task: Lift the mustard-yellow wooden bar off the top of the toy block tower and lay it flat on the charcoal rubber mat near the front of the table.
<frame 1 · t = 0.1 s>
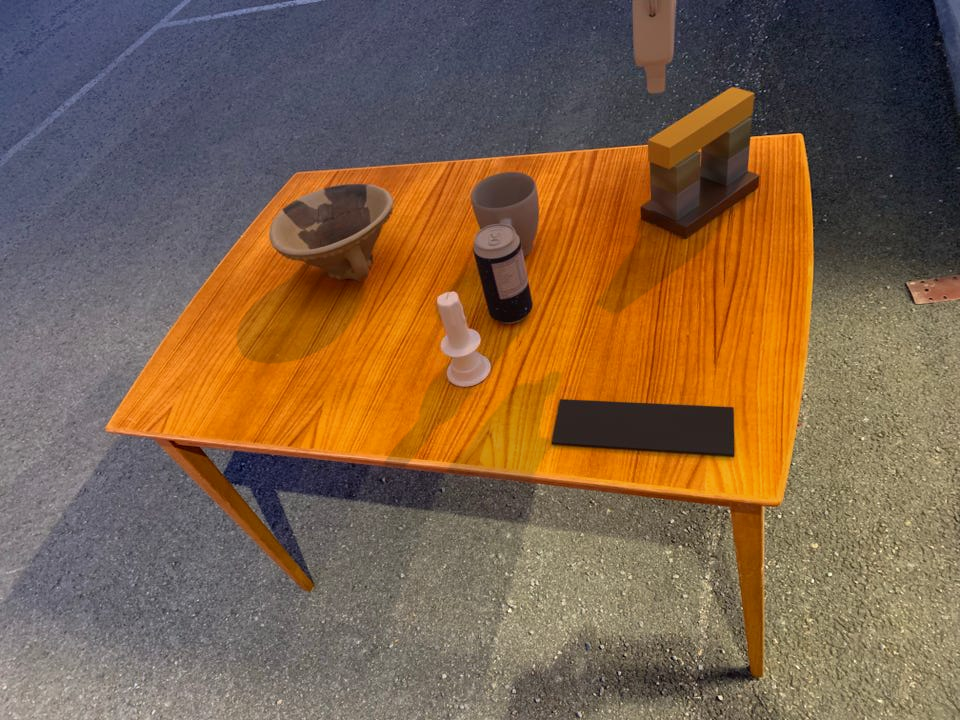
hand: (658, 70, 76), 24 cm above the table, tool pointing down, fingers open, 8 cm apart
mat: (641, 427, 72), on the table
bowl: (351, 266, 103), on the table
mug: (514, 256, 97), on the table
beverage can: (511, 313, 89), on the table
bar: (701, 137, 90), point 10 cm above the table, touching tower
tower: (699, 203, 97), on the table
candle: (469, 371, 83), on the table
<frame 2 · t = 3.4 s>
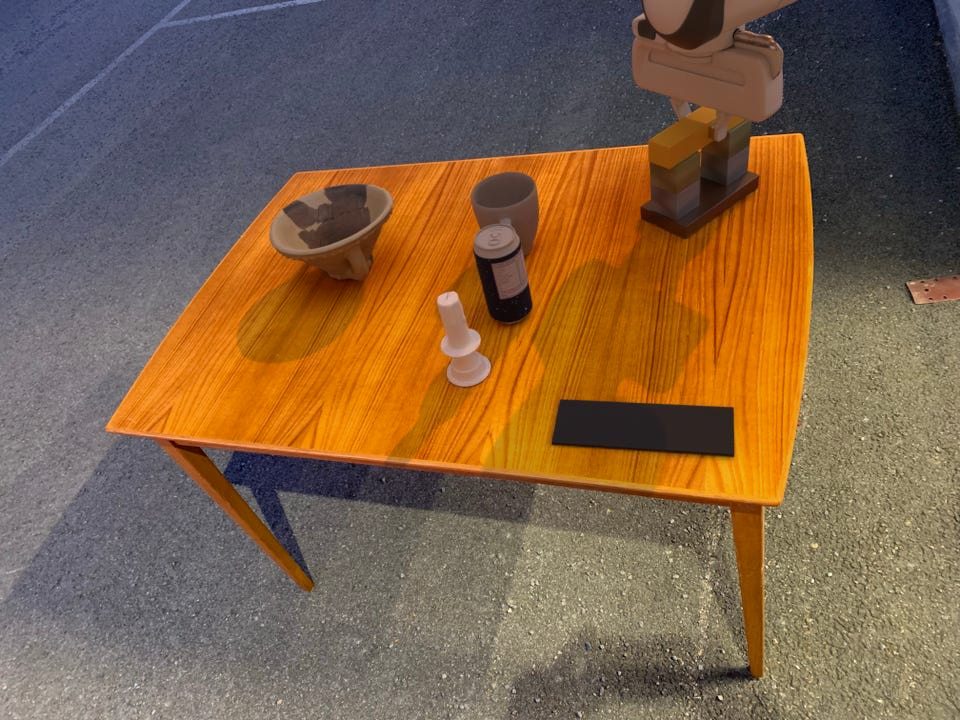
hand: (701, 133, 90), 11 cm above the table, tool pointing down, fingers closed on bar, 3 cm apart
bar: (701, 137, 90), point 10 cm above the table, touching gripper, tower
everything else where it was.
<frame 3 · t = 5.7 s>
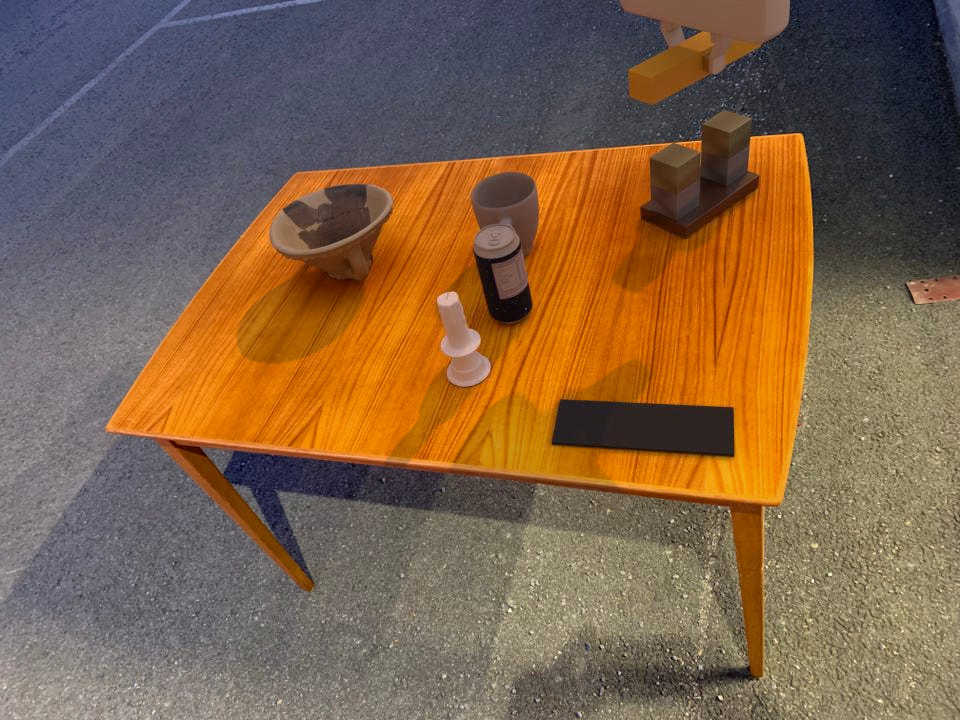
hand: (696, 66, 75), 23 cm above the table, tool pointing down, fingers closed on bar, 3 cm apart
bar: (696, 71, 76), point 23 cm above the table, touching gripper
everything else where it was.
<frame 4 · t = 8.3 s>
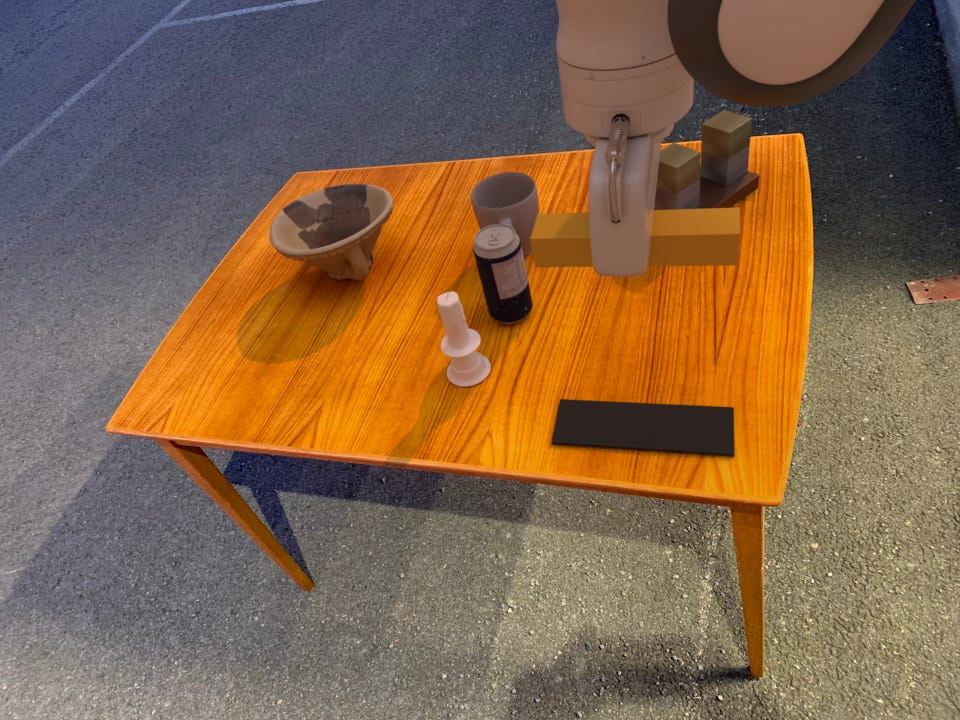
hand: (634, 247, 57), 23 cm above the table, tool pointing down, fingers closed on bar, 3 cm apart
bar: (633, 253, 57), point 22 cm above the table, touching gripper
everything else where it was.
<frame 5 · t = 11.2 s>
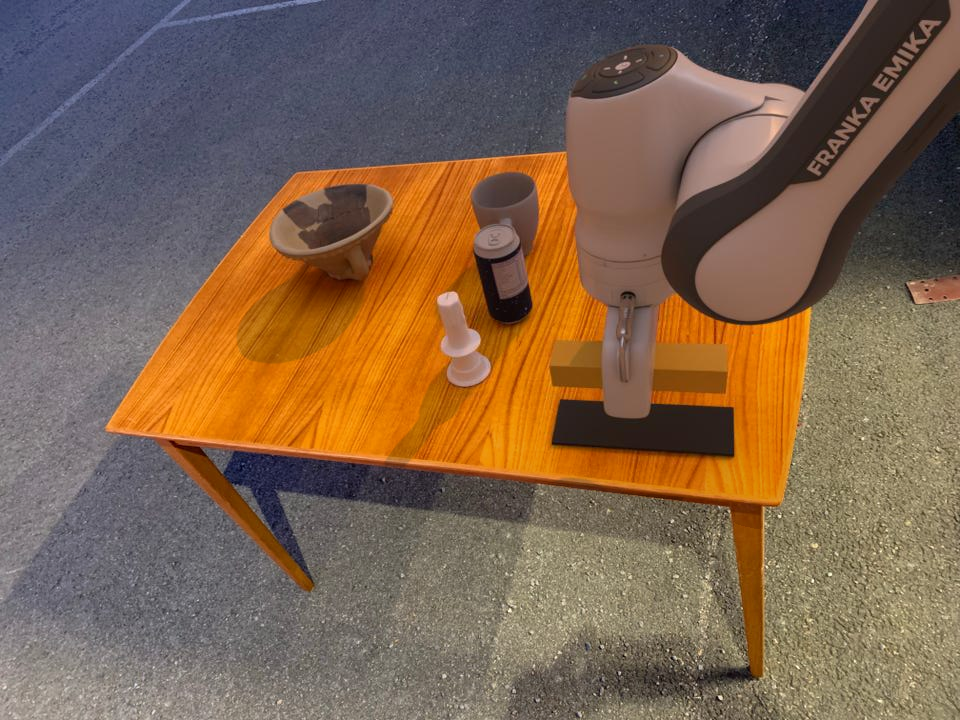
hand: (637, 372, 66), 8 cm above the table, tool pointing down, fingers closed on bar, 3 cm apart
bar: (637, 376, 67), point 8 cm above the table, touching gripper
everything else where it was.
when the fingers open (1 cm above the table, at t = 13.3 s): bar stays where it is, resting on mat.
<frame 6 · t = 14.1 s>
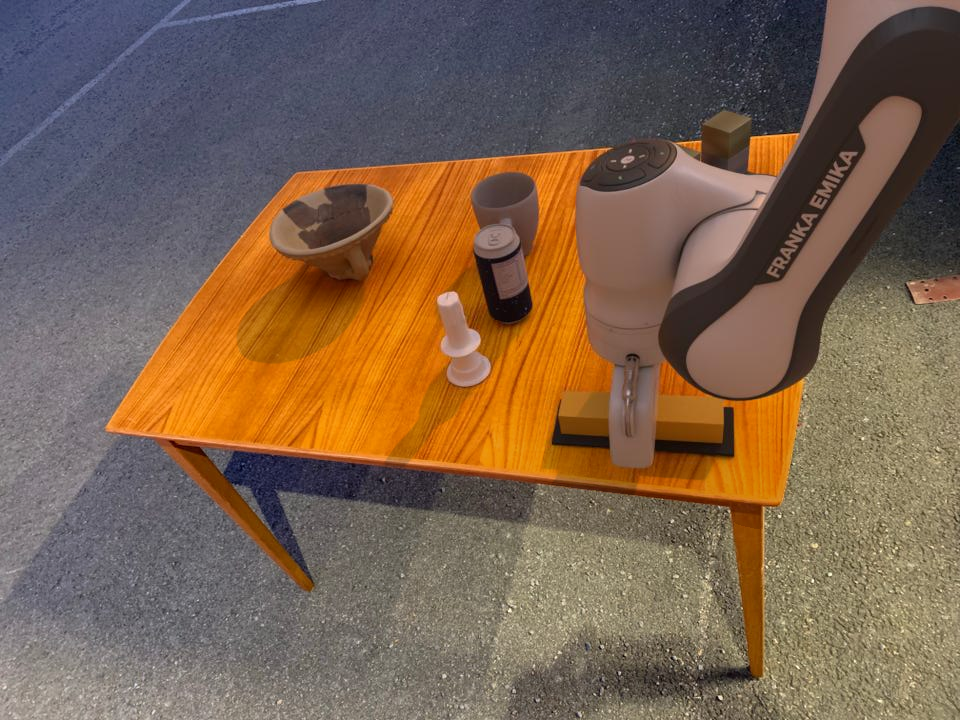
hand: (641, 418, 71), 1 cm above the table, tool pointing down, fingers open, 8 cm apart
bar: (640, 425, 72), resting on mat
everything else where it was.
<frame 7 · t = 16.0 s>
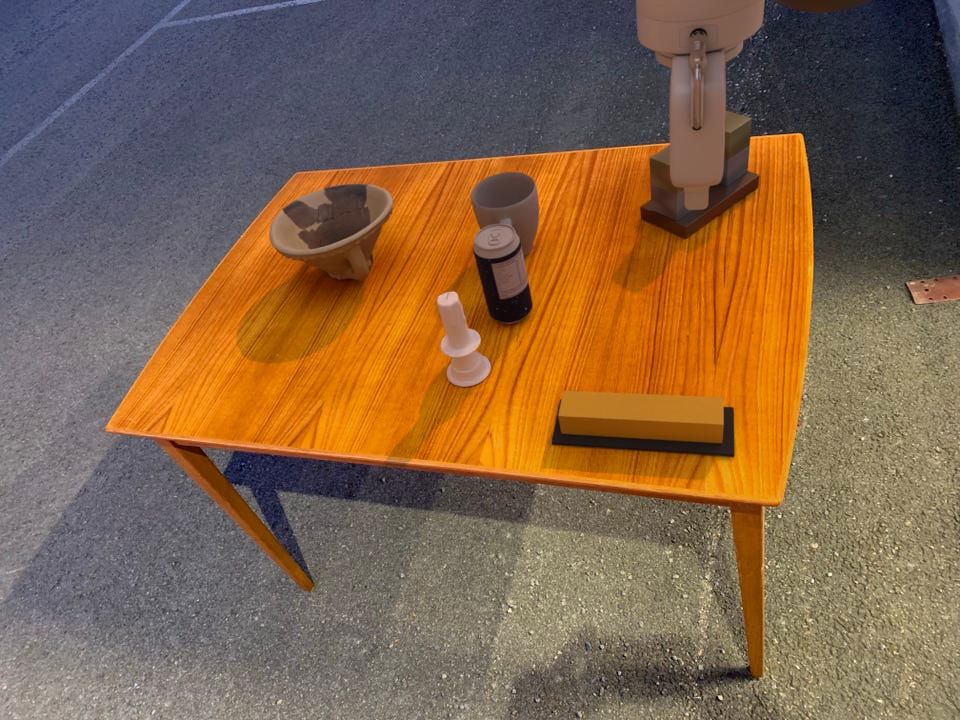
hand: (697, 173, 60), 24 cm above the table, tool pointing down, fingers open, 8 cm apart
nothing on the table moved.
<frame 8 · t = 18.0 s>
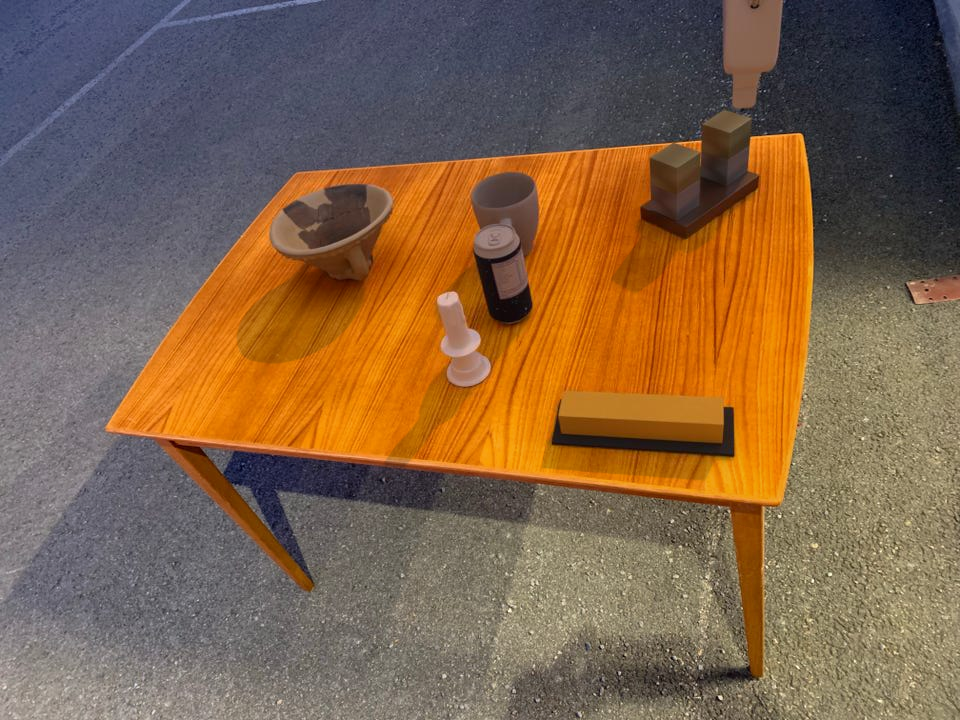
hand: (742, 77, 60), 29 cm above the table, tool pointing down, fingers open, 8 cm apart
nothing on the table moved.
at the end: bar inside the target area on the mat (0.1 cm from its centre), point 0.4 cm above the mat's base; bar touching mat; bar tilted 0° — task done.
